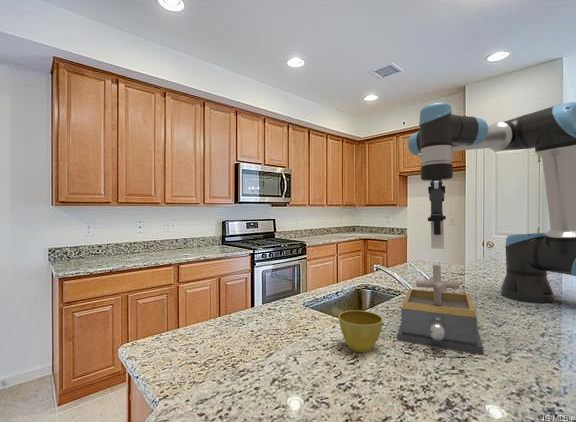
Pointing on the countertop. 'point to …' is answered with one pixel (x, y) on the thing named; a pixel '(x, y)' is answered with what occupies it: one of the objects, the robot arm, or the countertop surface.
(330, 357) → the countertop surface
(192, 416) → the countertop surface
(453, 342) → the grey gold-rimmed box
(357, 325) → the flower pot
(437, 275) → the pipe connector
